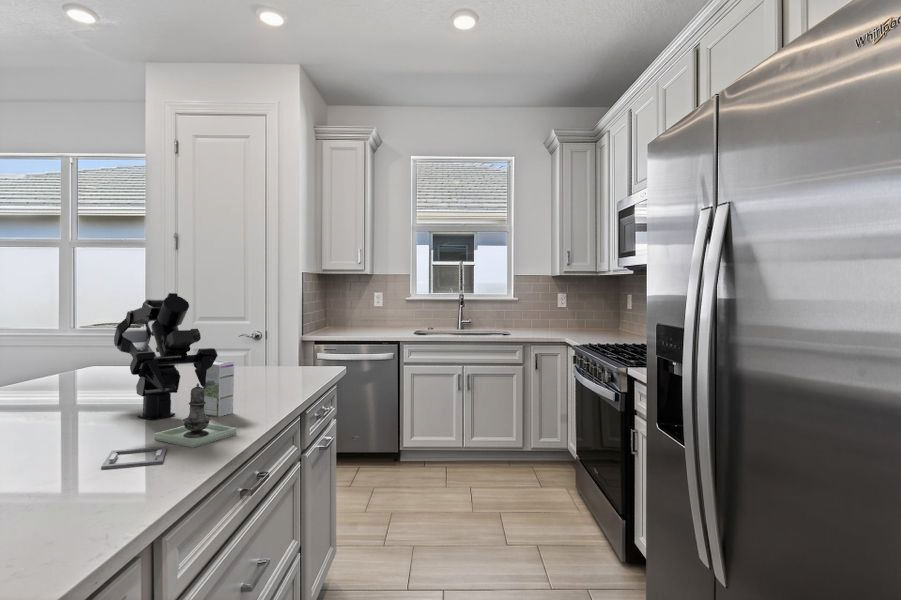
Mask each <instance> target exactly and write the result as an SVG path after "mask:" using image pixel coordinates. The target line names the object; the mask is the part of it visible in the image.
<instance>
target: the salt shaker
mask: <svg viewBox="0 0 901 600" xmlns="http://www.w3.org/2000/svg"><path fill="white" fill-rule="evenodd" d="M204 392H205V391H204V389H203V387H202V386H200V383H199V382H198V383H196V386H195V387H193V388H191V390H190V402H188V405H189V413H188V416H187V417H185V418H183V419H182V420H181V421H182V422H183V426H185V428H186V429H187V430H189V432H187V433H185V434H184V435H183V436H184V437H188V438H197V437H203V436H206V435H208V434H209V432H207V431H205V430H203V429H205V428H206V427H207V426H208V424H209V423H210V420H211V419H212V418H211V416H208V415H205V412H204V404H205V403H206V402H205V401H204Z"/></svg>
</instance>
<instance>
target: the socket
mask: <svg viewBox="0 0 901 600" xmlns="http://www.w3.org/2000/svg"><path fill="white" fill-rule="evenodd" d="M167 450H168V446H167V445H165V446H154V447H141V448H129V449H126V448H125V449H116V450H115V449H114V450H111V451H110V453H109V454H108V456H107V457H106V459H105V460H104V462H103V463H102V465H101V466H100V467H101V468H100V470H107V469H116V468H117V469H118V468H128V467H139V466H150V465H159V464H160V465H161V464H163V463H164V459H165V456H166V453H167ZM146 452H156V453H155V459H152V460H141V461H131V462H120V463H115V462H116V460H117V459H118V456H119V455H123V454H131V453H135V454H136V453H146Z"/></svg>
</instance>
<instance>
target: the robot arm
mask: <svg viewBox="0 0 901 600" xmlns="http://www.w3.org/2000/svg"><path fill="white" fill-rule="evenodd" d="M189 308H190V304H189V302H188V301H187V299H185V298H183V297H181V296H179V295H178V293H177V292H175V293H173V292H172V293H171V292H169V293H168V294H167V297H165V298H164V299H162V298H161V299H159V298H158V299H153V298H151V299H150V298H149V299H146V300H144V302H143V303H142V305H141V307H139V308H136V309H133V310H131V309H130V310H129V311H127V313H126V316H125V318H124V319H123V320H122V321H121V322H119V323H118V325H117V326H116V329H115V331H114V332H115V334H114V336H113V337H114V338H113V342H114V343H113V344H114V346H115V347H116V348H117V350H119V351H120V352H122V353H125V354H130V355H131V357H132V359H131V362H130V364H129V369H130V373H131V375H133V376H137V375H138V377H139V378H138V381H137V384H136V387H135V389H136V394H137V395H138V396H140V397H142V398H143V401H142V413H141V414H137V416H136V417H137V418H141V419H146V420H152V421H156V420H159V419H160V420H161V419H164V418H168V417H172V416H175V415H176V413H175V412H172V399H171V397H172V395H171V394H173V393H174V394H177V393H178V390H179V386H180V380H181V375H180V371H179V370H178V369H177V367H176V365H186V364H193V367H194V368H195V369H194V372H195V375H196V377H197V379H198V383H199V385H200V387H202V388H203V387H204V386H205V384H206V372H207V369H208V368H210V367H211V366H212V365H213V363H214V361H216V360H217V358H218V356H219V354H218V352H217V350H216V349H215V348H214V347H207V348H199V349H198V350H197V352H196V354H187V353H189V352H190V350H191V345H193V344H195V343H198V342H199V341H201V339H202V337H201V333H200V330H199V328H190V329H184V330H180V329H179V327H178V326H180V325H182V323H183V322H184V319H185V317H186V315H187V313H188V310H189ZM149 322H150V323H151V322H152V324H151V326H149ZM132 325H145V329H129V328H130V327H131V326H132ZM151 337H154V340H155V343H156V347H155V351H156V353H159V356H157V355H156V353H155V351H153V349H152V348H151V347H150V345H149V344H150V341H151V339H152V338H151Z"/></svg>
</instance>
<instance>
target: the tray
mask: <svg viewBox="0 0 901 600" xmlns="http://www.w3.org/2000/svg"><path fill="white" fill-rule="evenodd" d="M203 430H205V431H207V432H209V434H208V435H206V436H203V437H197V438H188V437H184V436H183V435H184V434H185V433H187V432H189V430H187V429H186V428H185V426H184V425H181V426H177V427H174V428H171V429H170V428H169V429H167V430H162V431H159V432H155V433H154V440H155V441H160V442H164V443H169V444H173V445H178V446H183V447H189V448H197V447H201V446H203V445H207V444H211V443H213V441H214V442H217V441H220V440H223V439H226V438H229V437H232V436H231V435H233V436H235V435H234V434H236V435H237V427H233V426H227V425H222V424H221V425H220V424H215V423H210V422H209V424H208V426H207V427H206V428H205V429H203ZM225 437H226V438H225ZM222 438H223V439H222ZM219 439H220V440H219ZM216 440H217V441H216Z"/></svg>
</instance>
